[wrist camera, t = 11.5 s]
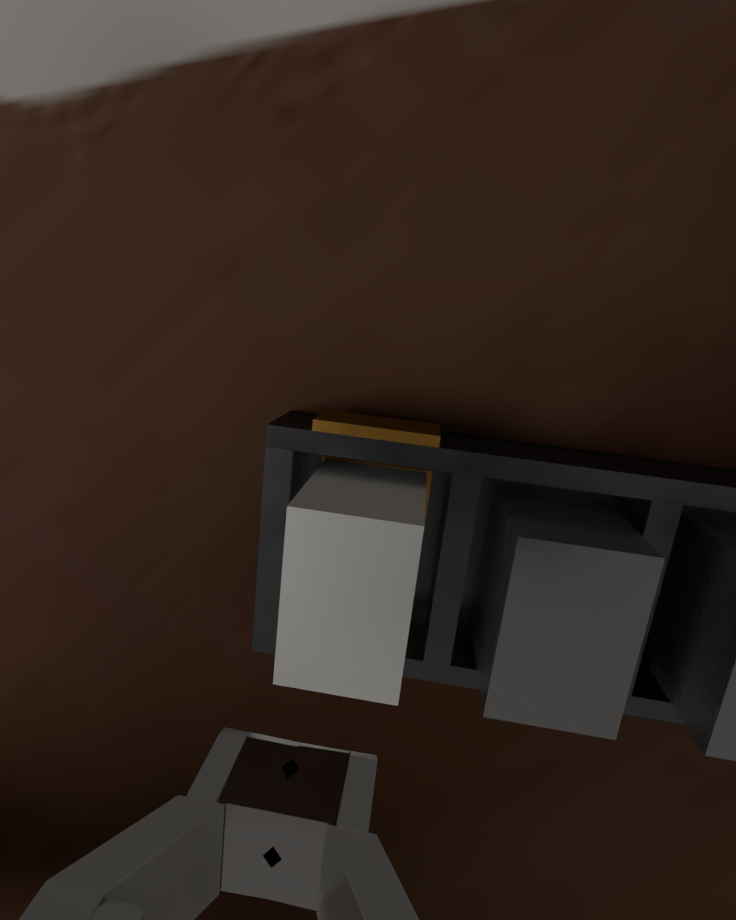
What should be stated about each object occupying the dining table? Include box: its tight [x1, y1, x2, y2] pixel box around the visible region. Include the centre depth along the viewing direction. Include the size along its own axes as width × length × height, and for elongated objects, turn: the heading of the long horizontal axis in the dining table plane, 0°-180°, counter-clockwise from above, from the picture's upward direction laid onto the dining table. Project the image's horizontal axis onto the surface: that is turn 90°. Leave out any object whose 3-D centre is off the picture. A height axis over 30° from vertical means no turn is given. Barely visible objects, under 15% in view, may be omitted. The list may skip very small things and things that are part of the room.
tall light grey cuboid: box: [273, 458, 426, 706], centre depth 19 cm, size 4×6×6 cm, turn 173°
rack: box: [252, 409, 736, 761], centre depth 19 cm, size 21×9×7 cm, turn 84°
